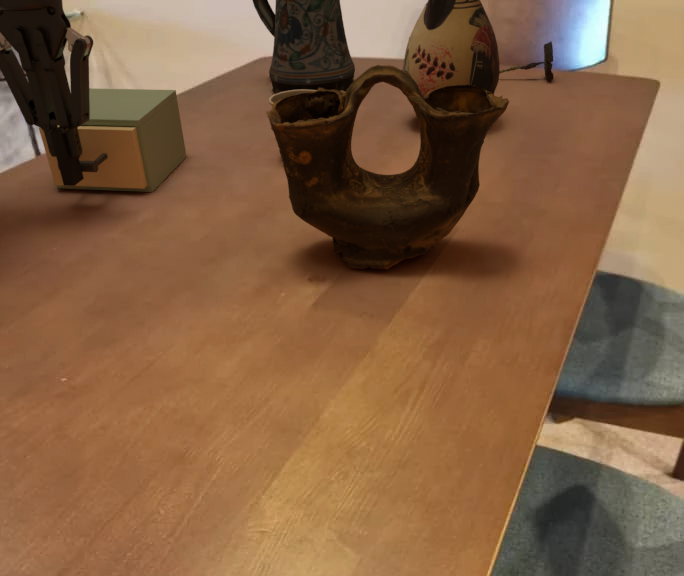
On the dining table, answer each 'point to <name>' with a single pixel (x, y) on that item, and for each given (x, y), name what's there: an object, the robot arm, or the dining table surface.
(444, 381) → the dining table surface
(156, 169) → the cabinet
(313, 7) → the beer stein
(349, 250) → the pottery vessel
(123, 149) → the drawer
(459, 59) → the ceramic jug
